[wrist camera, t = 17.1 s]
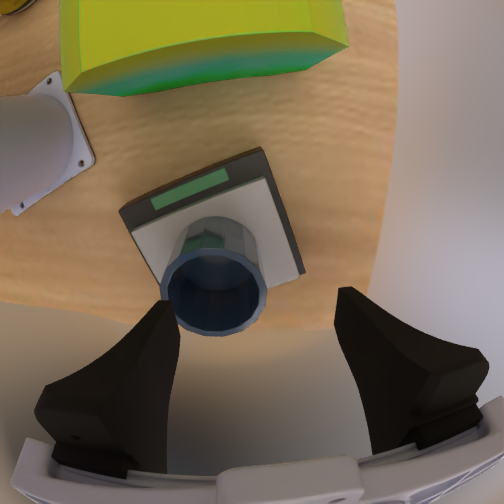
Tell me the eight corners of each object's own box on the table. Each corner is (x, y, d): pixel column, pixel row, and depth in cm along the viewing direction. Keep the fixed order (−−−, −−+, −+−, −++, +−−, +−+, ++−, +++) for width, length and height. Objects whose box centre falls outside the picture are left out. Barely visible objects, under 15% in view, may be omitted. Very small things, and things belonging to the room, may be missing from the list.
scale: (181, 302, 23) (176, 323, 21) (126, 202, 20) (113, 215, 17) (300, 261, 22) (308, 279, 20) (260, 146, 19) (264, 150, 16)
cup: (177, 291, 20) (166, 335, 16) (172, 215, 18) (154, 247, 14) (257, 292, 20) (263, 336, 16) (261, 216, 18) (270, 248, 14)
